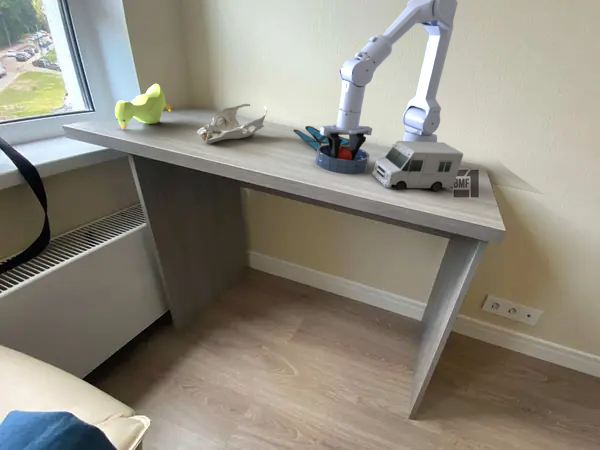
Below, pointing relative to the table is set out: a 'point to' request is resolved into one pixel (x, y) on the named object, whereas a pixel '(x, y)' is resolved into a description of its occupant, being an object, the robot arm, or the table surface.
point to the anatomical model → (229, 126)
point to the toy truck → (419, 165)
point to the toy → (142, 107)
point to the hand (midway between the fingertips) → (341, 160)
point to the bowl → (342, 161)
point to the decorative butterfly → (316, 137)
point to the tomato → (344, 153)
